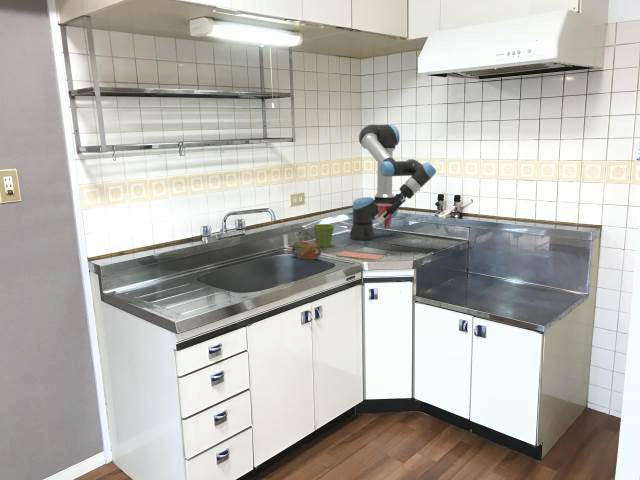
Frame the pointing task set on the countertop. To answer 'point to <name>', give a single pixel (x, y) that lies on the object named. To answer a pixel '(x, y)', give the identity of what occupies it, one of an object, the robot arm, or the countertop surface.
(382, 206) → the cup
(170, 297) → the countertop surface
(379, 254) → the pink thin bar
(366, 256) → the mat
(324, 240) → the plant pot
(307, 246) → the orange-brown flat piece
